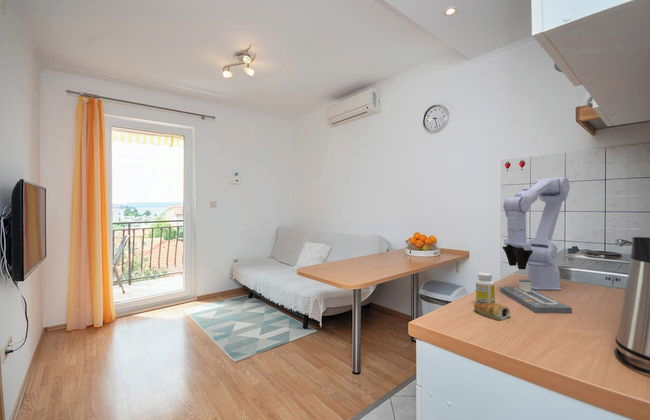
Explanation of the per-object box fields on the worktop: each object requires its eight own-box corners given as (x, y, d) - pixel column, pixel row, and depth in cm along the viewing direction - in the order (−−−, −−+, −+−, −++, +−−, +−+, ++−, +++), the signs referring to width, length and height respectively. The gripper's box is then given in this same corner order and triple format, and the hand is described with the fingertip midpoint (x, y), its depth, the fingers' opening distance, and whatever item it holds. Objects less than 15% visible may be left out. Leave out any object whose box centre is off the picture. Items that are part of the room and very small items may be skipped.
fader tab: (527, 290, 105) (527, 279, 105) (532, 293, 102) (532, 281, 102) (518, 290, 106) (518, 279, 105) (522, 293, 103) (522, 281, 102)
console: (529, 291, 110) (529, 285, 110) (571, 313, 88) (571, 305, 88) (500, 291, 111) (500, 285, 111) (535, 312, 90) (535, 304, 89)
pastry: (468, 312, 92) (468, 300, 92) (481, 308, 95) (481, 296, 95) (500, 322, 84) (500, 308, 84) (513, 317, 87) (512, 304, 87)
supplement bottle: (490, 301, 101) (489, 272, 101) (498, 306, 96) (497, 275, 95) (473, 300, 102) (473, 272, 101) (480, 306, 96) (479, 275, 96)
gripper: (495, 228, 116) (496, 263, 116) (515, 231, 102) (516, 271, 102) (515, 228, 115) (515, 263, 116) (537, 231, 101) (538, 271, 101)
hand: (517, 267), depth 109 cm, fingers open, 6 cm apart
